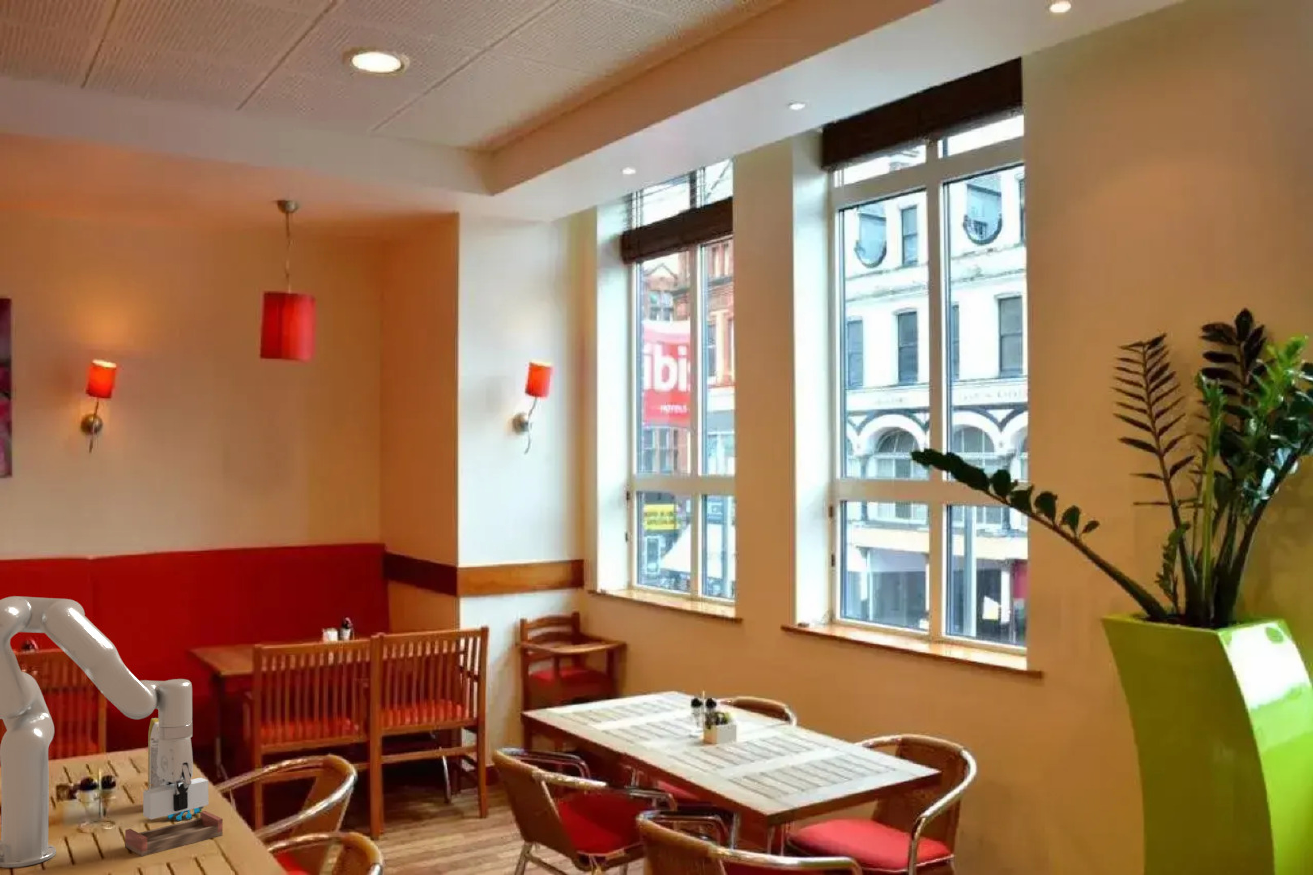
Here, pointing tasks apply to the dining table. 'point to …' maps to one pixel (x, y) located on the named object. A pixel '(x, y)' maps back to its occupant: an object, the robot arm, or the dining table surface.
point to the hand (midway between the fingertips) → (176, 806)
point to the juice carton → (153, 755)
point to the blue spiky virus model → (186, 815)
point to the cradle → (174, 834)
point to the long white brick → (162, 799)
